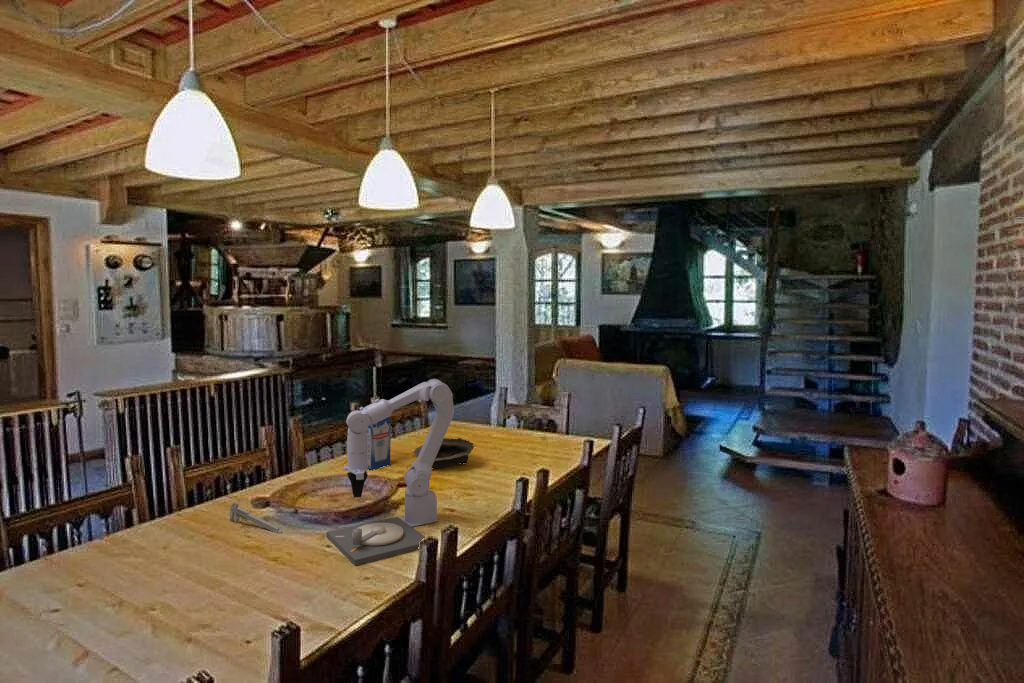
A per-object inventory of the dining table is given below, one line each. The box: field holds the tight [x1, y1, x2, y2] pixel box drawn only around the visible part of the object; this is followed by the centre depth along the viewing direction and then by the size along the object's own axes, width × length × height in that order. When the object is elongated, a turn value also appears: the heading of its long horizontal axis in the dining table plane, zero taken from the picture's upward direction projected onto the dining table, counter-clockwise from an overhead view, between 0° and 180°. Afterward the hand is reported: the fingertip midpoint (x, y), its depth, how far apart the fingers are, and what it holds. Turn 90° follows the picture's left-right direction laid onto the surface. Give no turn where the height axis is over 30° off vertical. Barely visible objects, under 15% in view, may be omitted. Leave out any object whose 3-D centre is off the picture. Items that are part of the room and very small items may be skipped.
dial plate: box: [325, 516, 426, 567], centre depth 169 cm, size 22×22×2 cm
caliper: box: [229, 501, 283, 534], centre depth 178 cm, size 20×1×6 cm, turn 65°
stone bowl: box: [412, 437, 475, 469], centre depth 246 cm, size 25×25×9 cm
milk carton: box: [366, 416, 392, 471], centre depth 242 cm, size 10×6×20 cm, turn 143°
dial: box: [352, 523, 403, 546], centre depth 168 cm, size 17×14×5 cm
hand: (357, 496), depth 179 cm, fingers closed
